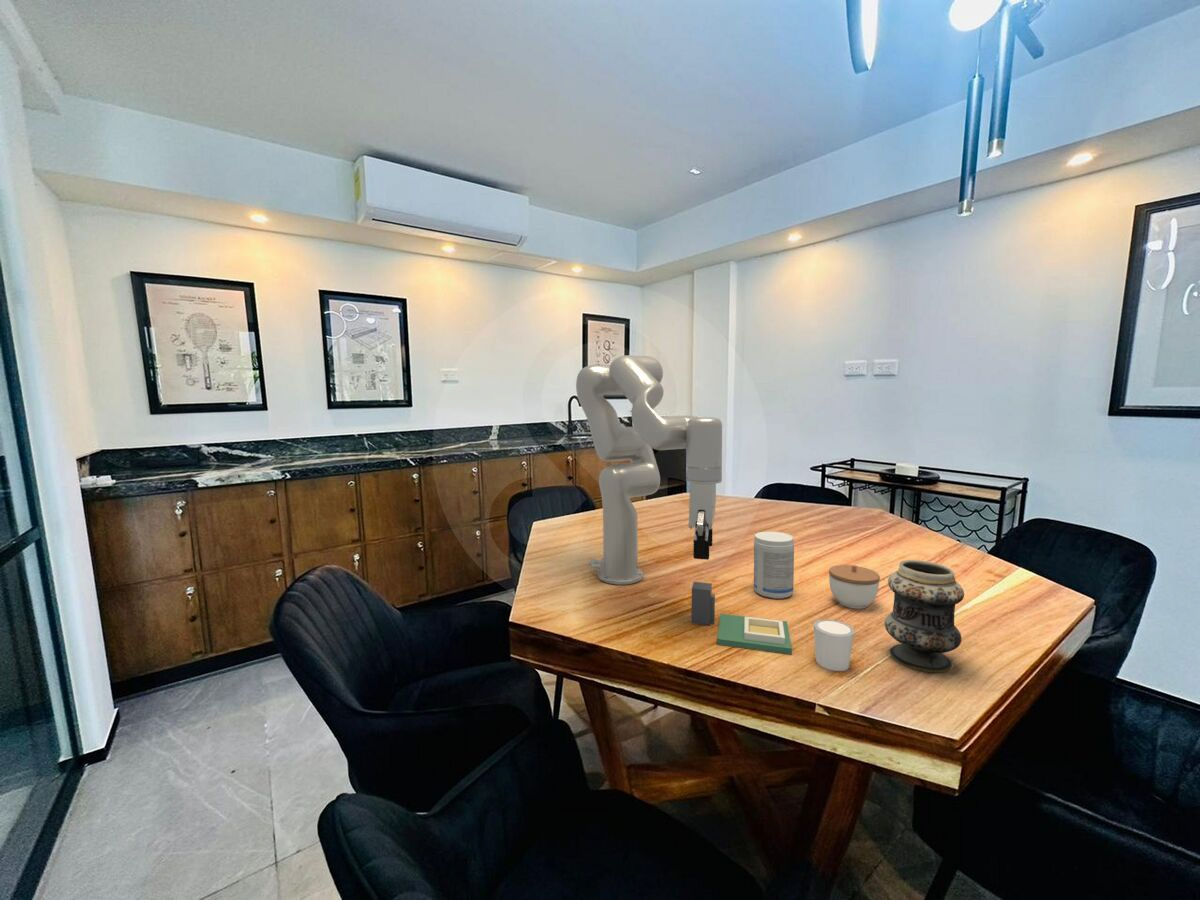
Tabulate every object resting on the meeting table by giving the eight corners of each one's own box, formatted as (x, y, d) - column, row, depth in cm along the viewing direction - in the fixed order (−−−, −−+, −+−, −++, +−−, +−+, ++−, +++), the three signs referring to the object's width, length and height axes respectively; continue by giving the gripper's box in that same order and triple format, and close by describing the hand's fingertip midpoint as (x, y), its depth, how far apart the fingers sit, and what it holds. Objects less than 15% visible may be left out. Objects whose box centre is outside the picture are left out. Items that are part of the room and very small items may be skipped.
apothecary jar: (969, 662, 90) (977, 568, 89) (943, 684, 84) (950, 583, 82) (899, 637, 100) (904, 552, 98) (870, 655, 93) (875, 564, 91)
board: (717, 644, 98) (717, 632, 98) (720, 618, 109) (720, 607, 109) (791, 654, 94) (792, 641, 93) (786, 626, 105) (787, 615, 105)
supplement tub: (801, 594, 122) (803, 537, 121) (777, 603, 117) (778, 543, 116) (768, 582, 130) (770, 528, 129) (745, 590, 125) (746, 534, 124)
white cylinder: (805, 654, 94) (806, 619, 93) (839, 652, 94) (840, 617, 94) (824, 674, 87) (826, 636, 86) (861, 672, 88) (863, 635, 87)
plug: (691, 623, 107) (691, 588, 106) (693, 615, 111) (693, 581, 110) (713, 626, 106) (714, 590, 105) (714, 618, 110) (715, 583, 109)
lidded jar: (837, 591, 124) (838, 555, 123) (884, 603, 117) (886, 565, 116) (820, 603, 117) (822, 565, 116) (869, 617, 109) (871, 577, 108)
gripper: (690, 468, 114) (690, 540, 116) (681, 480, 98) (681, 563, 99) (723, 469, 112) (722, 542, 114) (719, 481, 96) (718, 566, 97)
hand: (703, 551), depth 107 cm, fingers open, 9 cm apart
